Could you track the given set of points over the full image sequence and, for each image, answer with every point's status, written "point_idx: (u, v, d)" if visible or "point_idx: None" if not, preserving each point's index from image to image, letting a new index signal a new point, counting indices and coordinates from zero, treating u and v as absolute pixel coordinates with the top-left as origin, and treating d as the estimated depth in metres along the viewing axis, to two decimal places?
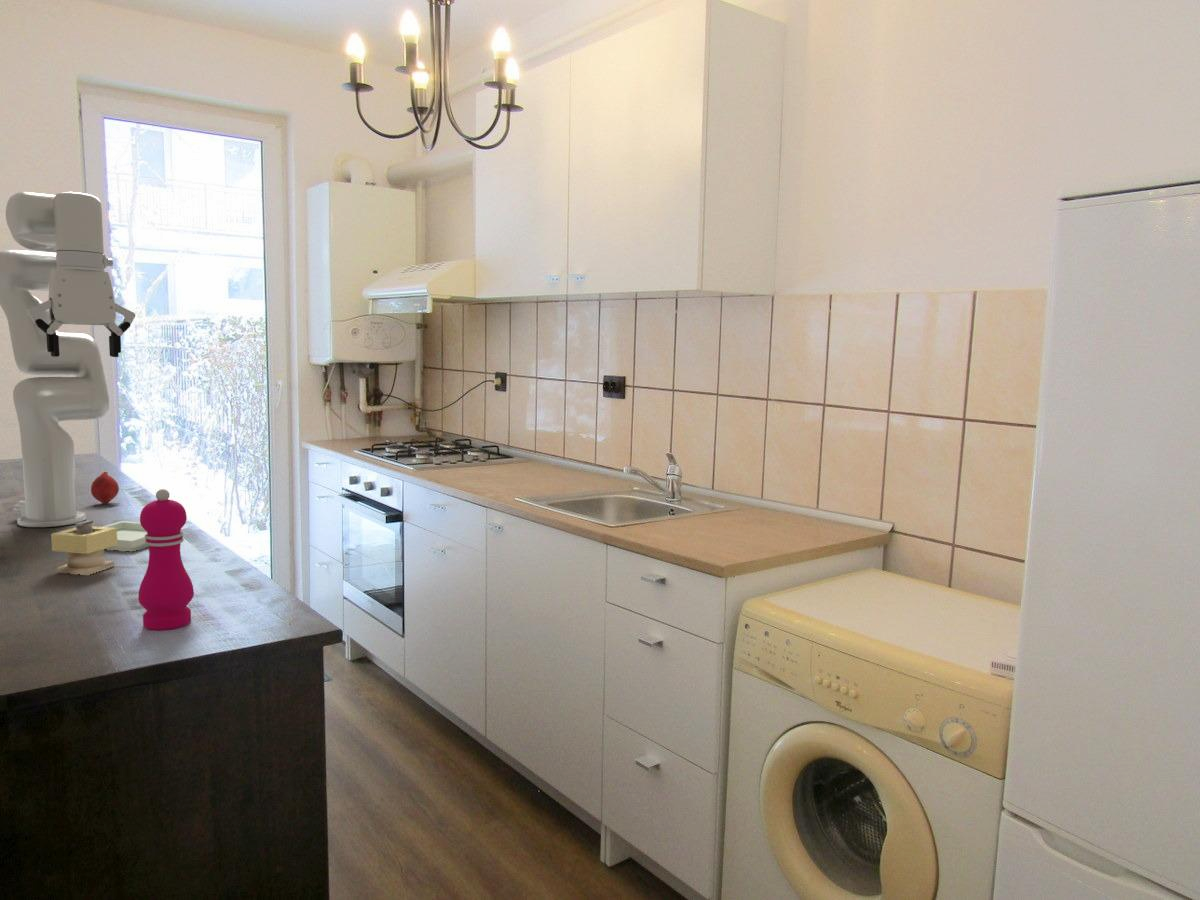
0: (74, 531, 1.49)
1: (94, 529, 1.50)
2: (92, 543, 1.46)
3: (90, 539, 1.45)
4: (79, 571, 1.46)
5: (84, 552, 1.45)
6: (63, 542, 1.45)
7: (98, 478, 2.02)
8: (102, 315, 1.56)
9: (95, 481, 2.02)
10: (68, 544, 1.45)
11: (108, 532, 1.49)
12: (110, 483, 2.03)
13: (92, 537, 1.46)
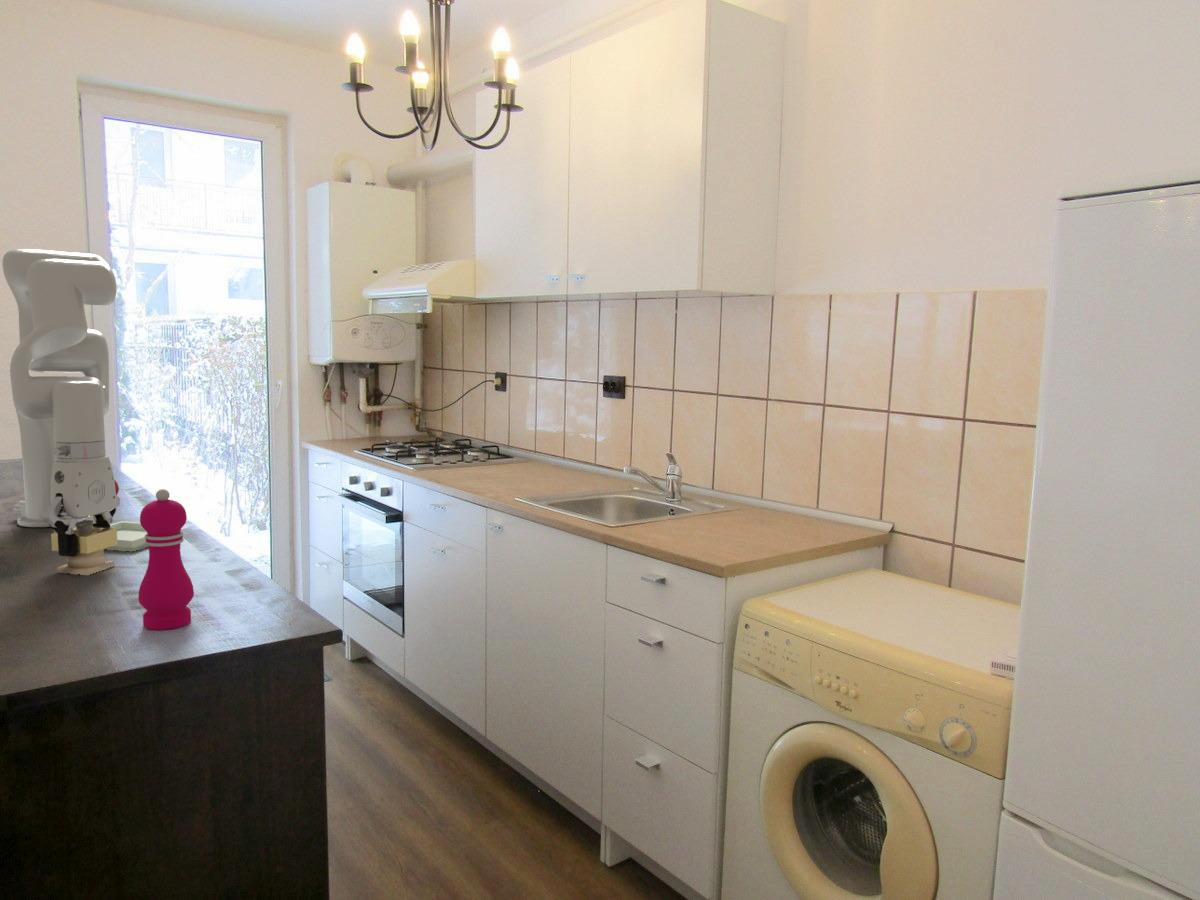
0: (74, 531, 1.49)
1: (94, 529, 1.50)
2: (92, 543, 1.46)
3: (90, 539, 1.45)
4: (79, 571, 1.46)
5: (84, 552, 1.45)
6: None
7: None
8: None
9: None
10: None
11: (108, 532, 1.49)
12: None
13: (92, 537, 1.46)
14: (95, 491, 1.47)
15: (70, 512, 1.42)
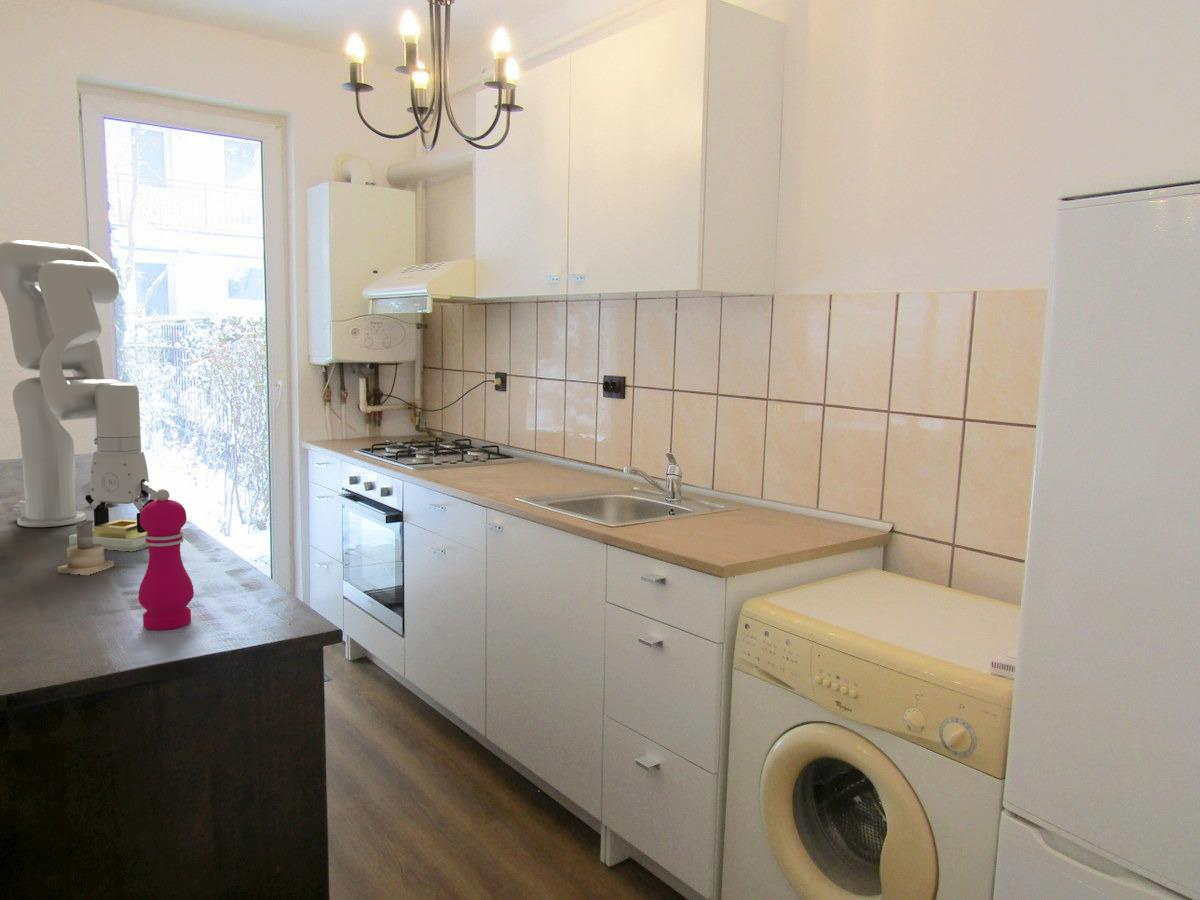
0: (129, 522, 1.70)
1: (130, 525, 1.68)
2: (99, 534, 1.65)
3: (97, 529, 1.65)
4: (79, 571, 1.46)
5: None
6: None
7: None
8: None
9: None
10: None
11: (116, 529, 1.65)
12: None
13: (99, 528, 1.65)
14: (109, 482, 1.64)
15: None
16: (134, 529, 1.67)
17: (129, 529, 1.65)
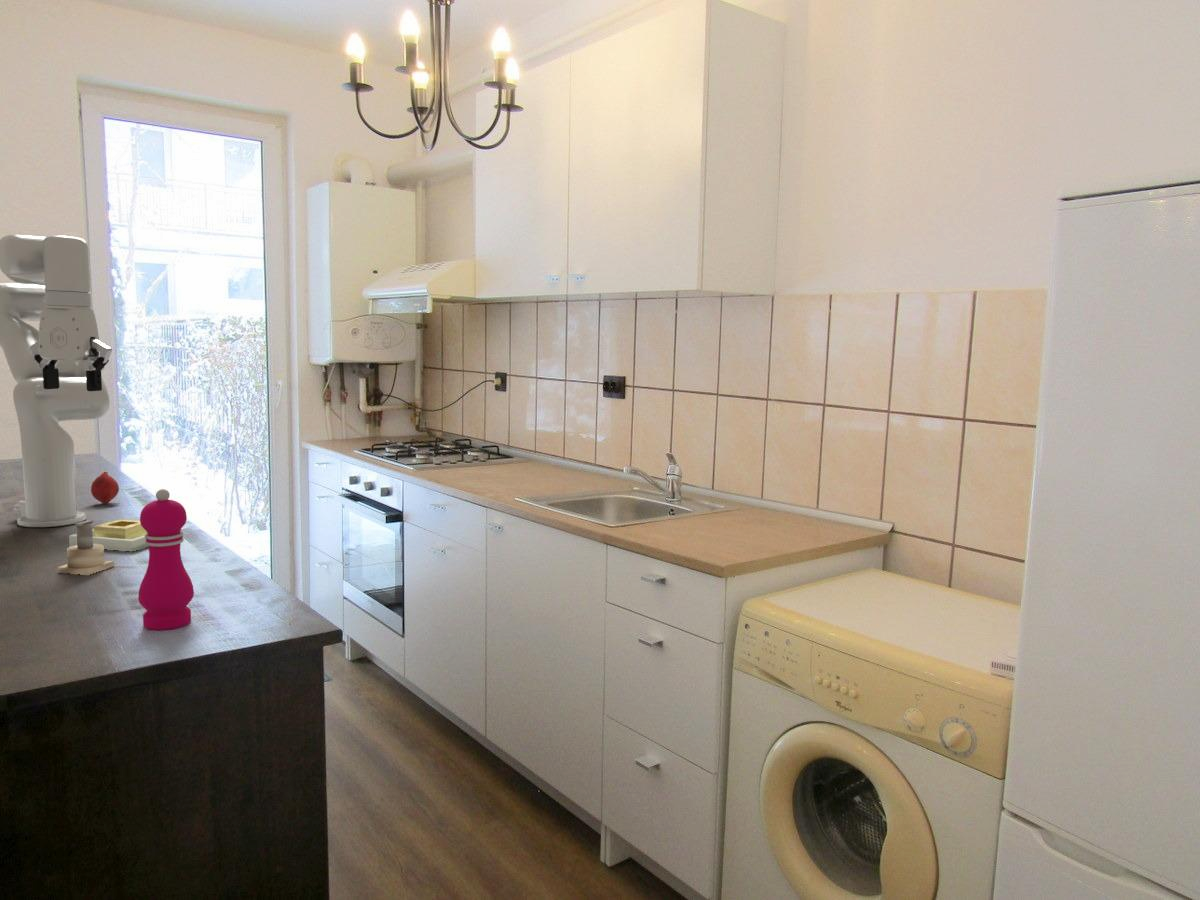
0: (129, 522, 1.70)
1: (130, 525, 1.68)
2: (99, 534, 1.65)
3: (97, 529, 1.65)
4: (79, 571, 1.46)
5: None
6: None
7: (98, 478, 2.02)
8: None
9: (95, 481, 2.02)
10: None
11: (116, 529, 1.65)
12: (110, 483, 2.03)
13: (99, 528, 1.65)
14: (57, 337, 1.61)
15: None
16: (134, 529, 1.67)
17: (129, 529, 1.65)
